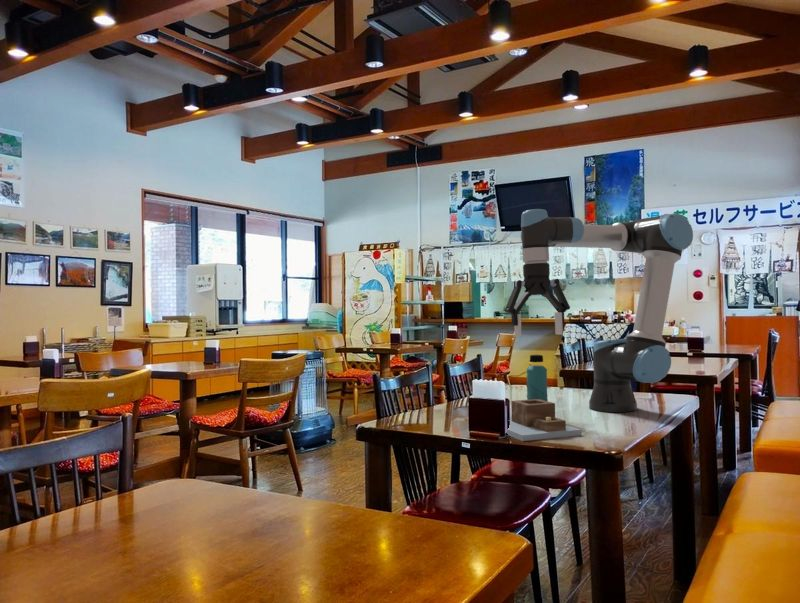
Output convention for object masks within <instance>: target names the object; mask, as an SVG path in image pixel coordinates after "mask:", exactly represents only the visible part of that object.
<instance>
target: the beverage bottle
mask: <svg viewBox="0 0 800 603" xmlns="http://www.w3.org/2000/svg"><path fill="white" fill-rule="evenodd" d="M529 362H530V363H543V362H544V357H543V355H542V354H532V355H529ZM530 399H541V400H545V401H548V402H549V400H548V399H549V398H548V369H547V368H546V367H545V366H544V365H540V364H539V365H537V364H536V365H534V364H533V365H529V366H528V367H527V368H526V400H530Z"/></svg>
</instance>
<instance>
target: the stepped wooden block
mask: <svg viewBox="0 0 800 603" xmlns="http://www.w3.org/2000/svg"><path fill="white" fill-rule="evenodd" d="M510 403H511V421H512V422H515V423H518V424H520V425H523V426H526V427H534V428H537V429H540V430H543V431H545V432H549V431H560V430H566V425H567V422H566V420H565V419H561V418H558V417H556V403H554V402H551V401H549V400H548V401H545V400H541V399H530V400H527V399H521V400H511V402H510ZM546 417H551V421H546Z"/></svg>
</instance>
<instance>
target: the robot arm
mask: <svg viewBox="0 0 800 603" xmlns="http://www.w3.org/2000/svg"><path fill="white" fill-rule="evenodd" d="M520 218H521V219H520V221H521V222H520V228H521V232H520V239H521V240H520V241H521V244H522V246H521V248H522V262H523V263H524V264H523V265H522V272H523V273H522V274H523V280H521V279H515V280H514V281H513V288H512V291H511V293H510V296H509V299H508V301H507V303H506V306H505V309H504V312H505V313H507V314H509V315H511V316H510V317H511V326H514V338H522V333H523V332H522V314H519V313H520V311H521V310H522V308H523V307H524V306H525V304H526V303H527V301H528V299H529V298H530V297H531V296H538V295H539V296H540V295H541V296H542V295H543V296H544V297H545V299H547V301H548V302H549V303H550V304H551V306H552V307H553V308H554V310H556V312H554V331H555V335H561V336H562V335H563V334H564V332H563V331H564V330H563V323H565V313H566V312H567V311H568V310H570V309H571V306H570V304H569V301H568V300H567V298H566V296H565V294H564V292H563V291H564V290H563V289H562V288H561V283H560V279H559V278H552V279H550V272H551V271H550V264H549V261H550V252H549V250H550V249H549V248H591V249H594V248H597V249H611V250H612V251H614V252H624V253H633V254H634V253H635V254H642V256H643V258H644V259H645V264H644V269H643V272H642V274H643V275H642V280H641V285H640V292H639V296H638V301H637V307H636V308H637V309H636V313H635V318H634V325H633V330H632V332H631V333H629V334H628V335H626V338H617V339H616V338H615V339H608V340H607V339H605V340H598V341H595V343H593V350H592V351H593V352H592V355H593V357H592V358H593V360H592V362H593V388H592V391H591V395H590V397H589V398H590V399H589V401H588V407H589V409H590V410H593V411H598V412H605V413H606V412H607V413H628V412H635V411H637V410H638V402H637V400H636V397H635V395H634V390H633V388H632V385H631V384H632V383H631V381H633V382H634V381H635V382H640V383H643V384H645V383H646V384H647V383H648V384H650V383H652V384H653V383H658V382H660V381H661V380H662V379H665V377H666V376H667V375H668V374H669V371H670V369H671V367H672V356H671V355H670V351H669V350H668V349H667V348H666V344H667V342H666V341H665V339H664V338H663V332H664V326H665V321H666V315H667V311H668V310H667V308H668V305H669V304H668V302H669V298H670V291H671V288H672V287H671V286H672V281H673V275H674V274H673V273H674V270H675V264H676V263H677V262H679V260H681V259H682V254H683V251H684V250H686V249H688V248H689V246H691V245H692V243H693V239H694V231H693V227H692V225H691V223H690V221H689V220H688V219H687V218H686V217H685V216H684V215H682V214H679V213H665V214H661V215H656V216H653V217H652V216H651V217H646V218H641V219H636V220H632V221H626V222H615V223H613V224H612V225H611V224H607V225H605V224H584V222H583V221H582V220H581V219H580V218H578V217H571V216H569V217H568V216H567V217H561V216H559V217H554V216H553V217H552V216H551V217H550V216H549V215H548V211H547V210H546V209H543V208H533V209H527V210H524V211H523V212H522V213H521V217H520ZM523 287H524V288H525V289H524V290H523V292H522V294H521V296H520V293H521V290H522V288H523ZM550 287H551V288H552V290H551V289H550ZM552 291H553V292H552ZM553 293H554V294H553ZM519 296H520V297H519Z"/></svg>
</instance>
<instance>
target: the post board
mask: <svg viewBox="0 0 800 603" xmlns="http://www.w3.org/2000/svg"><path fill="white" fill-rule="evenodd" d="M509 421H510V425H509V428H508V429H507V434H508V435H507V436H509V437H511V438H513V439H516V440H519V441H521V442H526V441H537V440H547V439H555V438H565V437H568V438H569V437H578V436H582V429H581V428H577V427H575V426H571V425H567V424H566V430H560V431H549V432H545V431H543V430H540V429H537V428H534V427H526V426H523V425H520V424H518V423H515V422H512V420H509ZM546 421H551V417H546Z"/></svg>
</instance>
